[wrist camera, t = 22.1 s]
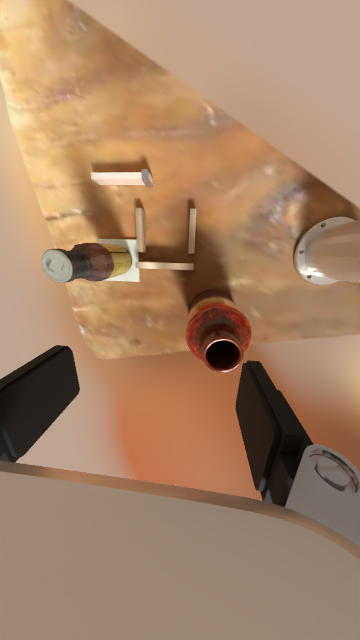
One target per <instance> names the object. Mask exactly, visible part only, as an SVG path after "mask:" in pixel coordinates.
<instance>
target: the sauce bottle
mask: <svg viewBox="0 0 360 640" xmlns="http://www.w3.org/2000/svg"><path fill="white" fill-rule="evenodd" d="M131 265H132V257H131V255H130V252H129V251H128V250H127V249H126V248H124V247H122V246H120V245H113V244H101V243H82V244H78V245H75V246H74V248H73V249H72V250H71V251H66V250H63V249H50V250H48V251H46V252H45V253H44V254H43V256H42V267H43V270H44V272H45V274H46V275H47V276H48V277H49V278H50V279H52V280H53V281H55V282H58V283H65V282H71V281H73V280H74V279H77V278H83V279H86V280H89V281H102V280H106V279H109V278H113V277H116V276H119V275H122V274H124V273H126V272H127V271H128V270H129V269H130V268H131Z"/></svg>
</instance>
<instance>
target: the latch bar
mask: <svg viewBox="0 0 360 640" xmlns="http://www.w3.org/2000/svg"><path fill="white" fill-rule="evenodd" d="M91 179H92V180H93V181H95V182H96V183H97V184H99V185H146V187H153V186H152V175H151V174H150V172H149V170H148V169H141V172H110V173H91Z"/></svg>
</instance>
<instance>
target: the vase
mask: <svg viewBox="0 0 360 640" xmlns="http://www.w3.org/2000/svg"><path fill="white" fill-rule="evenodd" d="M186 341H187V345H188V347H189V349H190V351H191V352H192V353H193V354H194V355H195V356H196V357H197V358H198V359H200V360H202V361H204V363H205V364H206V366H208V368H210V369H211V370H213V371H216V372H229V371H232V370H234V369H235V368H237V367H238V366H239V365H240V364H241V362H242V360H243V354H244V352H245V351H246V350H247V348H248V347H249V344H250V341H251V327H250V324H249V322H248V320H247V318H246V317H245V316H244V314H243V313H242V312H241V311H240V309H239V308H238V307H237V306H236V304H235V303H234V302H233V301H232V299H231V298H230V297H229V296H228V295H227V294H225V293H224V292H221V291H218V290H208V291H204V292H202V293H200V294H199V295H198V296H196V297H195V299H194V300H193V301H192V303H191V306H190V310H189V316H188V322H187V328H186Z"/></svg>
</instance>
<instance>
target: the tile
mask: <svg viewBox="0 0 360 640" xmlns="http://www.w3.org/2000/svg"><path fill="white" fill-rule="evenodd" d="M98 243H101V244H113V245H120V246H122V247H124V248H126V249H127V250H128V251H129V252H130V255H131V257H132V265H131V268H130V269H129V270H128V271H127V272H126V273H124V274H122V275H119V276H116V277H113V278H109V279H106V280H112V281H134V282H140V270H139V268H136V265H135V262H139V252H137V240H129V239H98Z"/></svg>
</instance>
